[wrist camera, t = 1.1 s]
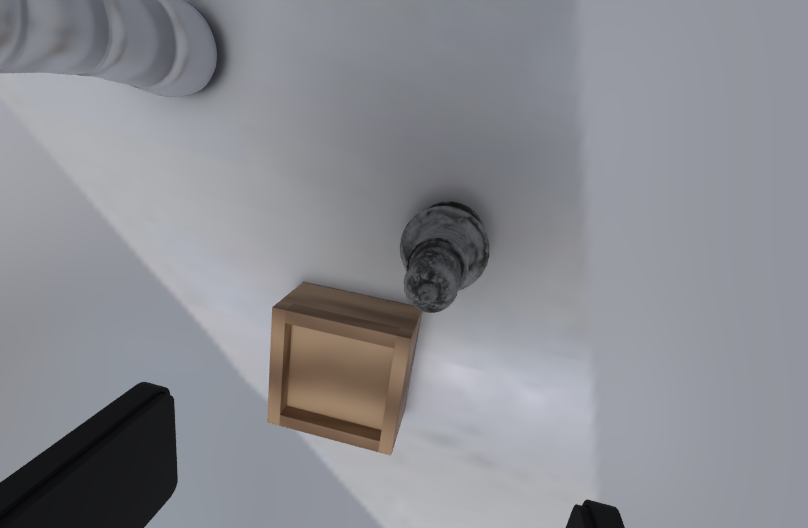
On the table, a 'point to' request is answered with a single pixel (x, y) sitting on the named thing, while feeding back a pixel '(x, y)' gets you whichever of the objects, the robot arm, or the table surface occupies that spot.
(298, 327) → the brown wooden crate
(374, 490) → the table surface
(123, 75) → the plastic bottle
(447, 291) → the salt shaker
